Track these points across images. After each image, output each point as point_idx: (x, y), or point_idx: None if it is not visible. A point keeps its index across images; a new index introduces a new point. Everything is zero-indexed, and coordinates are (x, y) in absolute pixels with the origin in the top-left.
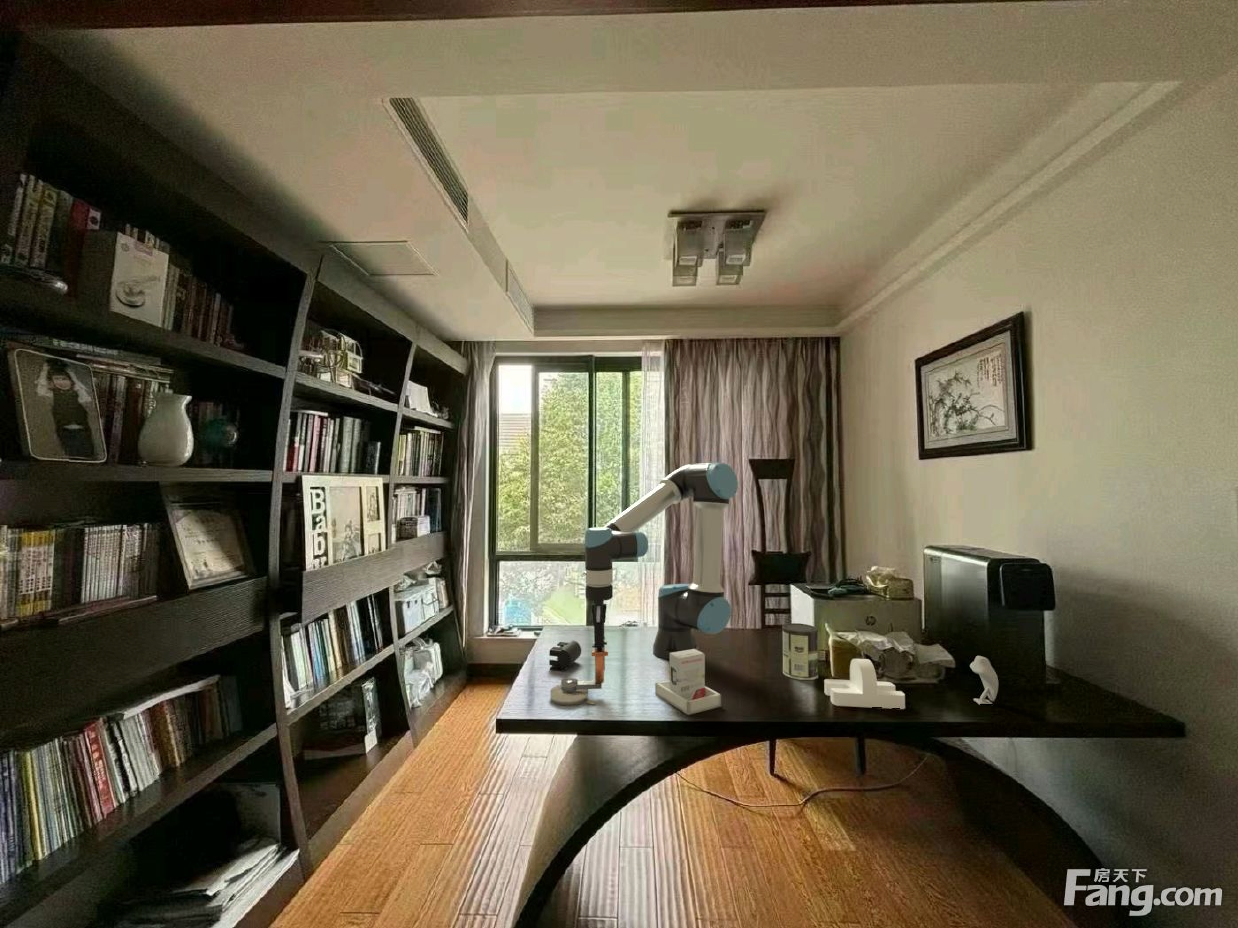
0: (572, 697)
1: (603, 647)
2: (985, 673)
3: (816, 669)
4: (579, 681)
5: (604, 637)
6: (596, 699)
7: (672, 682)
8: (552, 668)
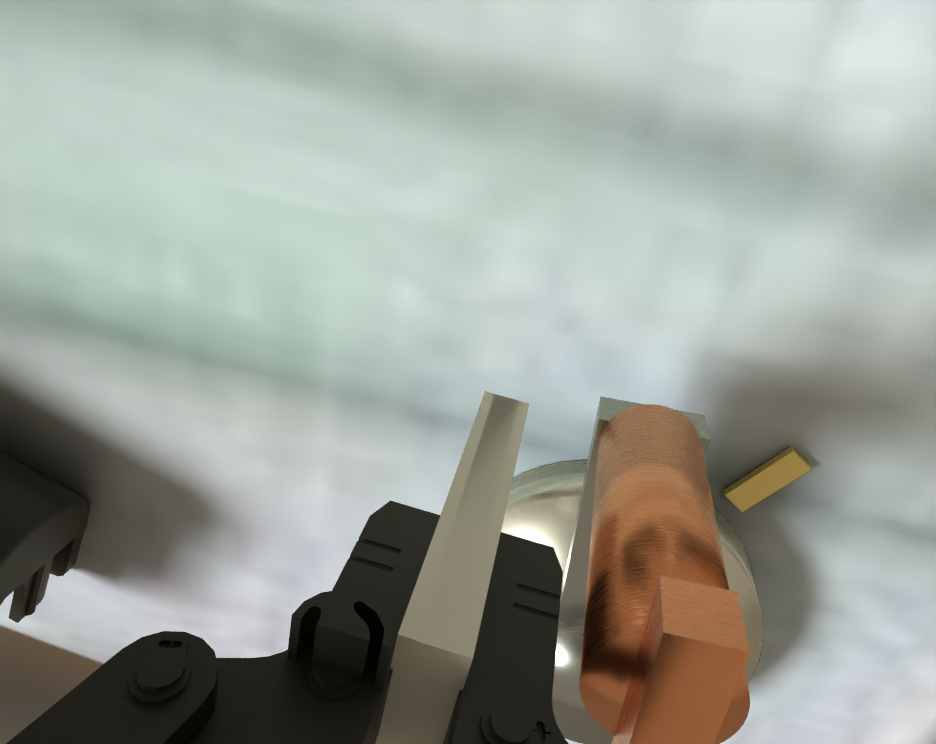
0: (751, 644)
1: (471, 658)
2: None
3: None
4: (572, 599)
5: (171, 695)
6: (690, 411)
7: None
8: (69, 563)
